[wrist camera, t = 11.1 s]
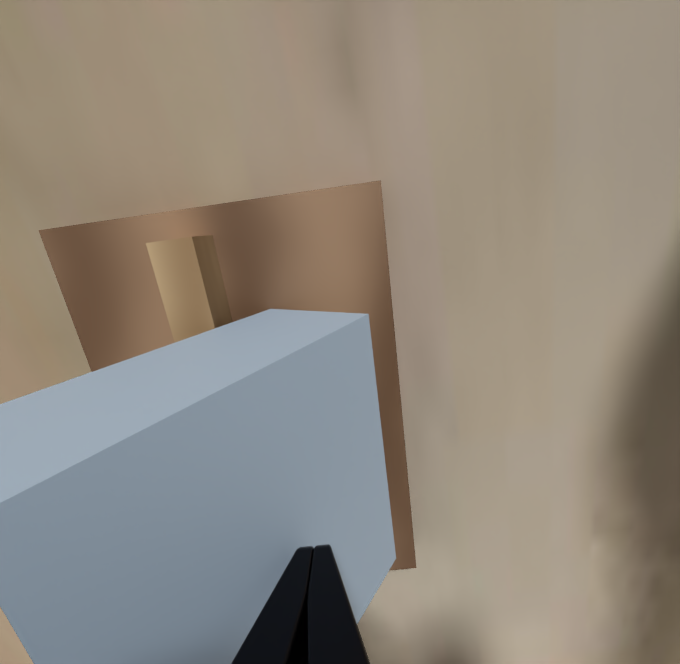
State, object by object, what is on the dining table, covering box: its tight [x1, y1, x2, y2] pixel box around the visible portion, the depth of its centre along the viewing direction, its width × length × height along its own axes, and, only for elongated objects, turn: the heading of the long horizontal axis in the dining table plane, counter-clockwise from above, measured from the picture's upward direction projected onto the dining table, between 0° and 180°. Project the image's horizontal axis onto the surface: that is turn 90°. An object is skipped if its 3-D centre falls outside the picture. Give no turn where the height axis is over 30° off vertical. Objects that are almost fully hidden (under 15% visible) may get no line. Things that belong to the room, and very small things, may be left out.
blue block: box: [0, 309, 396, 664], centre depth 10 cm, size 4×10×9 cm
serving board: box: [39, 181, 416, 570], centre depth 15 cm, size 12×18×3 cm
